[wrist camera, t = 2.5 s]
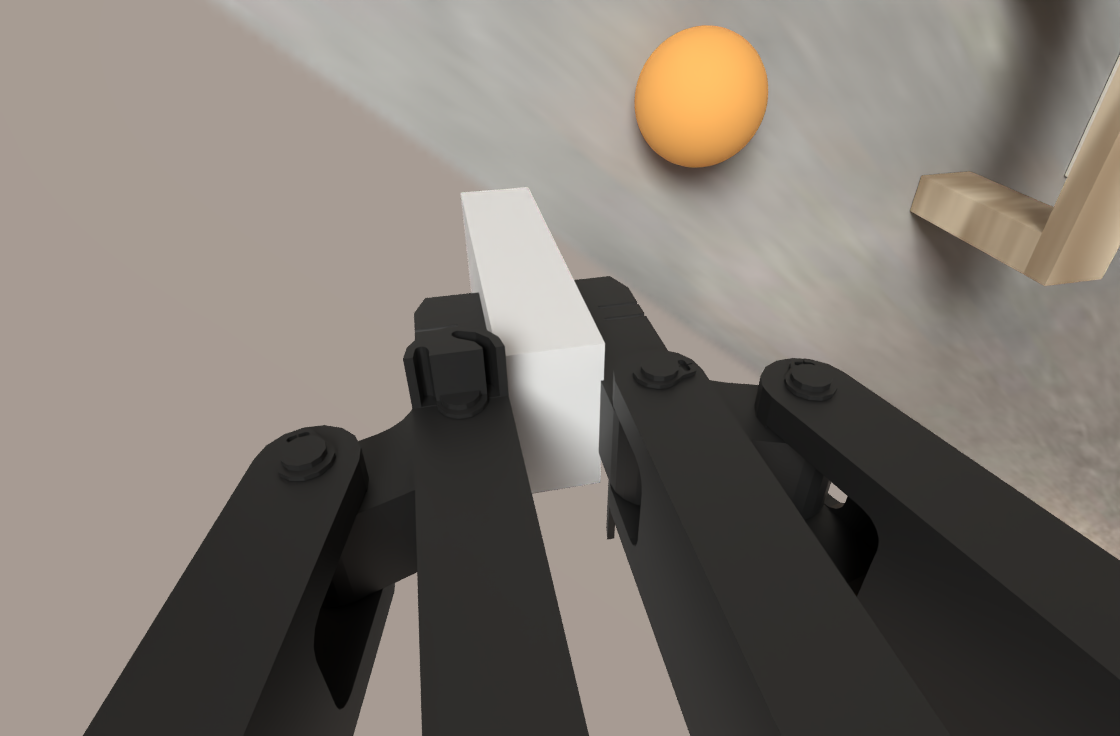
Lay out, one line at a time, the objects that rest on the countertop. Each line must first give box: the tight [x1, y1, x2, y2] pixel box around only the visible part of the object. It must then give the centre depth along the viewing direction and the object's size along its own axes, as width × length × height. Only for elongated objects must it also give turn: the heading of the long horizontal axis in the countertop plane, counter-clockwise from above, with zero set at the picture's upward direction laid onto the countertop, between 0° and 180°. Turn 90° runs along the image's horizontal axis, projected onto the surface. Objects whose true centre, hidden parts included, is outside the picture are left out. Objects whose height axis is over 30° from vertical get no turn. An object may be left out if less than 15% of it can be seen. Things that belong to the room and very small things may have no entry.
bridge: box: [910, 64, 1120, 286], centre depth 27 cm, size 3×14×9 cm, turn 1°
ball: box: [635, 25, 768, 167], centre depth 26 cm, size 6×6×6 cm
